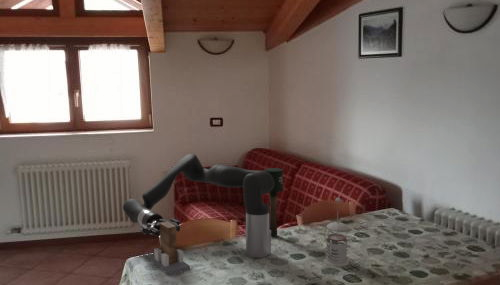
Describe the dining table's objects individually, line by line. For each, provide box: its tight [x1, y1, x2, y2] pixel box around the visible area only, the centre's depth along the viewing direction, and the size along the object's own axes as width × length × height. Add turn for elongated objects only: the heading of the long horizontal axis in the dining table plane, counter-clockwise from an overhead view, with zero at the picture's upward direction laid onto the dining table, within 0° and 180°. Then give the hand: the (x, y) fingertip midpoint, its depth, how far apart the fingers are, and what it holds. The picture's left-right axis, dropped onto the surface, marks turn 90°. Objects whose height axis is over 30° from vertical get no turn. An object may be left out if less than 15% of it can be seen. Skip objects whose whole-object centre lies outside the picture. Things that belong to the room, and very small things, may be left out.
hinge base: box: [148, 247, 191, 276], centre depth 172 cm, size 8×18×6 cm, turn 36°
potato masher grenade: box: [264, 167, 284, 238], centre depth 200 cm, size 8×9×30 cm
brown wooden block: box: [159, 221, 178, 264], centre depth 171 cm, size 3×7×14 cm, turn 37°
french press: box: [323, 197, 350, 267], centre depth 173 cm, size 10×12×25 cm
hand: (168, 231), depth 170 cm, fingers open, 8 cm apart
